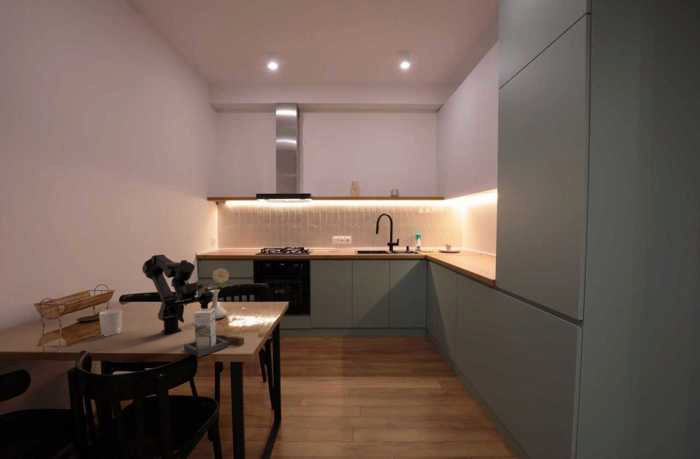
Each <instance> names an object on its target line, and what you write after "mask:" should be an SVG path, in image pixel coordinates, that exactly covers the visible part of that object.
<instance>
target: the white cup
mask: <svg viewBox="0 0 700 459" xmlns="http://www.w3.org/2000/svg"><path fill="white" fill-rule="evenodd" d="M122 311H123V309H121V308H116V309H115V308H114V309H107V310H104V311H101V312H99V313H98V315H99V324H100V331H101V336H102V335H104V336H105V337H106V335H107V337H109V336H108V335H113V334H117V333H119V334H120V332H121V333H122V323H123V322H122V320H123V317H122V316H123V312H122ZM117 335H118V334H117ZM104 336H103V337H104ZM113 336H114V335H113Z"/></svg>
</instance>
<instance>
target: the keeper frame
mask: <svg viewBox="0 0 700 459" xmlns="http://www.w3.org/2000/svg"><path fill="white" fill-rule="evenodd" d="M226 348H229V343H228V341H226V340H223V339H221V338H218V337H216V345H213V346H210V347H207V348H204V349H201V350H199V349H197V348H196V341H195V340H194V341H191V342H188V343H185V344H183V351H186V352H187V353H189V354H191V355H192V356H194V355H196V356H197V357H196V356H195V357H196V358H201V357H203V356H206V355H209V354H212V353H215V352H217V351H220V350H224V349H226Z"/></svg>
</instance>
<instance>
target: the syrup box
mask: <svg viewBox="0 0 700 459" xmlns="http://www.w3.org/2000/svg"><path fill="white" fill-rule="evenodd" d="M193 316H194V333H195V334H194V337H195V340H194V341H196V347H195V348H197V349H199V350H201V349H204V348H207V347H210V346H213V345H216V333H217V332H216V319H215V309H214V308H212V309H209V308H208V309H202V308H200V309H198V310H196V311H194V315H193Z"/></svg>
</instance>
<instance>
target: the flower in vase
mask: <svg viewBox="0 0 700 459" xmlns="http://www.w3.org/2000/svg"><path fill="white" fill-rule="evenodd" d="M211 278H212V280H213V281H214V283H218V284H217V287H216V286H214V285H211V284H208V285H209V287H210V288H211V287H212V288H214V289H212V290H210V291H211V292H212V293H213V295H214V296H213V298H212V300H211V302H212V304H211V306H210V307H208V309H212V308H214V309H215V320H218V319H222V318H224V317H225V316H227V315H228V311H227V310H226V309H224V308H223V307H222V306H220V305H219V304H218V294H219V292H220V291H221V290H220V289H218V288H219V286H220V287H221V288H226V287H228V286H229V285H228V284H227V283H226V281H228V280H229V278H230V273H229V271H228V270H227V269H225V268H221V267H219V268H217V269H215V270H214V271H213V273H212V277H211Z"/></svg>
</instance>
